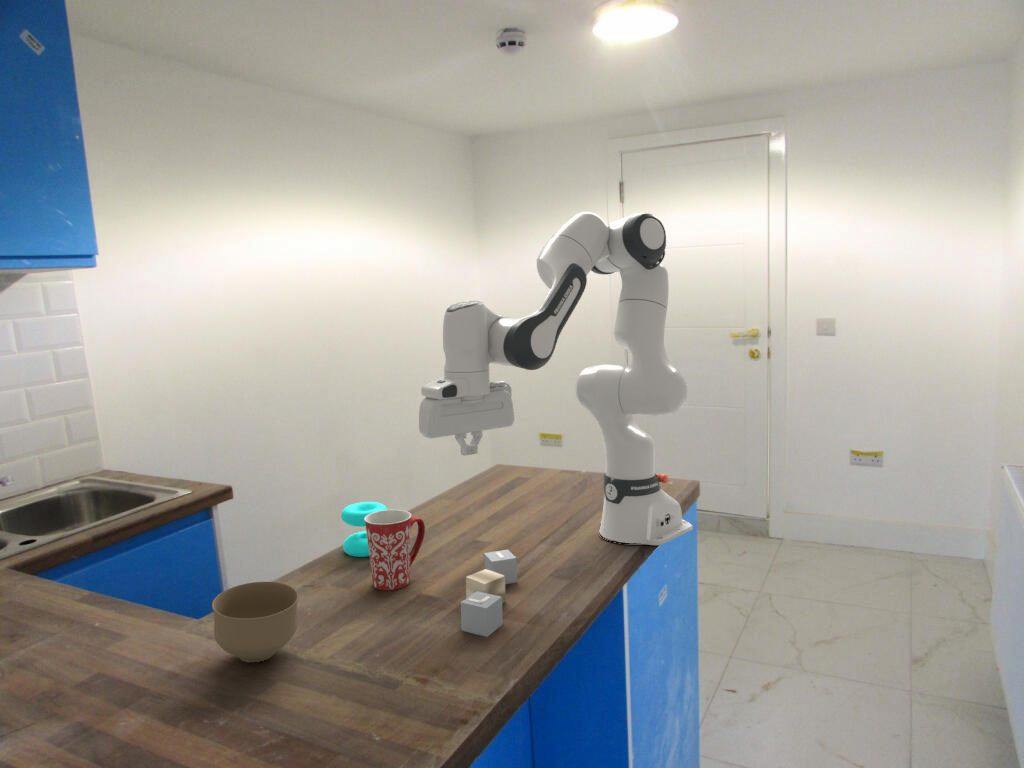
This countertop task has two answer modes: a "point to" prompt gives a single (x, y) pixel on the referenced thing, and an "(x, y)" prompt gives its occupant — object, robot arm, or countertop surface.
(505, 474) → the countertop surface
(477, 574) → the maple block
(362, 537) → the donuts
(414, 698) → the countertop surface
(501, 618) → the grey block
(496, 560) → the grey block
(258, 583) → the bowl
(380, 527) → the mug
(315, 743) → the countertop surface
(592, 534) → the countertop surface
